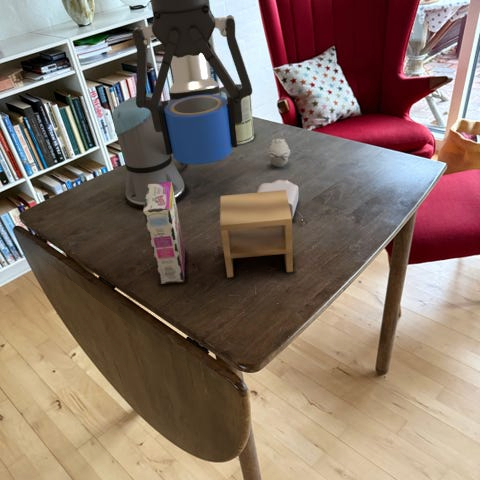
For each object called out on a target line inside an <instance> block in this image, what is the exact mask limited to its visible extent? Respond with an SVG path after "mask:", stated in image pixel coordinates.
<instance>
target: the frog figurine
mask: <svg viewBox="0 0 480 480" xmlns="http://www.w3.org/2000/svg"><path fill="white" fill-rule="evenodd" d="M290 156H291V150H290V148H289V145H288V143H287V142H286V139H285V138H276V139H275V138H274V139H272V140H271V144H269V147H268V150H267V157H268V158H269V161H270V163H271V165H273V166H274V167H276V168H282V167H284V166H285V165H287V163H288V162H289V161H288V160H289V157H290Z"/></svg>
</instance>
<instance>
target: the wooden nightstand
mask: <svg viewBox="0 0 480 480" xmlns="http://www.w3.org/2000/svg"><path fill="white" fill-rule="evenodd" d="M257 192H258V191H257ZM257 192H249V193H239V194H229V195H228V194H227V195H220V199H219V200H220V203H219V204H220V205H219V206H220V207H219V208H220V210H219V211H220V212H219V227H220V234H221V235H220V236H221V242H222V249H223V257H224V264H225V269H226V271H225V272H226V278H233V277H234V259H240V258H241V259H242V258H250V257H251V258H252V257H263V256H273V255H283V259H284V263H285V271H286V273H292V272H294V268H293V265H294V263H293V219H292V217H291V212H290V207H289V202H288V198H287V193H286V190H279V191H268V192H258V193H257Z"/></svg>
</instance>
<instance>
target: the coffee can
mask: <svg viewBox="0 0 480 480" xmlns="http://www.w3.org/2000/svg"><path fill="white" fill-rule="evenodd" d="M235 84H236V86H237V88H238V87H240V86H242V85H241V83H235ZM219 91H220V92H224V93H225V94H226V96H227V100H228V98H231V96H230V95H229V93H228V92H227V90H226V89H225V87H224V86H222V87H219ZM241 109H242V122H241V123H235V128H236V138H237V146H238V145H244V144H247V143H249V142H251V141H252V140H254V138H255V134H254V133H255V132H254V122H253V121H254V119H253V106H252V94H251V95H250V96H246V97H244V98H243V99H242V100H241Z"/></svg>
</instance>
